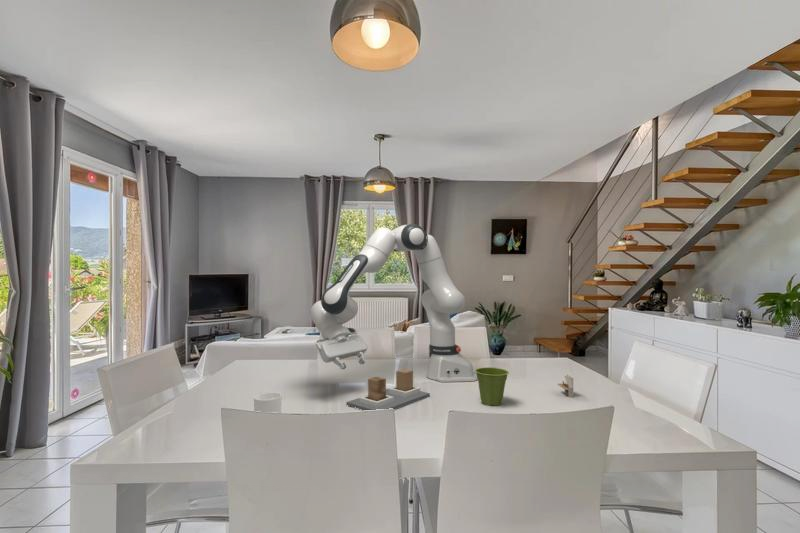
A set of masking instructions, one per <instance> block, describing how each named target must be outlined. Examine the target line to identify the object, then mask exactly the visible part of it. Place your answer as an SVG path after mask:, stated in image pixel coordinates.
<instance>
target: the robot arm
mask: <svg viewBox="0 0 800 533" xmlns="http://www.w3.org/2000/svg"><path fill="white" fill-rule="evenodd" d="M410 251H411V252H412V253H413V254H414V256H415V260H416V262H417V266H418V268H419V273H420V275H421V279H422V281H423V282H424V283H425V284H426V285H427V286H428V289H427V290H425V291H424V292H423V293H422V295H421V299H420V301H421V302H420V303H421V306H422V307H423V308H424V310H425V312H426V316H427V317H426V318H427V320H428V324H429V343H430V344H429V345H428V356H429V361H428V362H429V363H428V364H429V365H428V370H427V373H426V377H427V378H428V379H430V380H434V381H438V382H441V383H449V382H450V383H451V382H453V383H454V382H476V381H478V379H477V374H476V372H475V371H474V368H473V365H472V362H471V361H470V360H469V359H468V358H466V357H465V356H464V355H462V354H461V352H462V348H461V347H460V346H459V345H457V344H456V327H455V324H454V323H453V322H452V320H451V317H450V315H455V314H459V313H460V312H461V313H462V311H463V310H464V308H465V306H466V298H465V296H464V294H463V293H462V292H461V291H459V290H458V288H457V287H456V286H455V284H454V282H453V281H452V279H451V277H450V275H449V273H448V272H447V267H446V266H445V262H444V259H443V258H444V257H443V255H442V253H441V249H440V247H439V245H438V242H437V241H436V239H435V237H434V236H433V235H431V234H427V233H426V231H425V230H424V228H423V227H422V226H420V225H419V224H414V223H410V224H409V223H408V224H402V225H400V226H398V227H397V226H396V227H395V228H392V229H390V228H387V227H384V226H383V227H378V228H377V229H376V230H374V232H372V234H371V235H370V237H369V238H368V240H367V241H366V242H365V244H364V245H363V247H362V249H361V250H360V251H359V253H357V255H355V256H354V257H353V258H352V259H351V260H350V261H349V263H347V265H346V266H345V268H344V270H343V271H342V272H341V274H340V275H339V276H338V278H337V279H336V280H335V281H334V283H333V284H331V285H330V286H329V287H328V288H326V290H325V291H324V292H323V294H322V296H321V299H320V300H318V301H316V302H315V303H314V304H312V306H311V308H310V317H311V319H312V320H311V321H312V322H313V325H314V326H315V327H316V329H317V330H318V331H319V332H320V335H321V337H322V338H321V339H317V340H316V341H315V346H316V348H317V349H318V353H319V356H320V358H321V360H322V361H323V362H325V363H327V364H328V363H332V362H333V364H335V365H336V366H337V367H339V369H340V371H341V370H345V369H346V368H347V365H346V363H345V362H343V361H341V360H343V359H347V358H348V359H349V358H352V357H353V358H354V357H357V358H359V360H358V362H357V363H358V364H359V365H364V364H365V363H366V360H365V358H364V354H365V353H366V351H367V350H368V344H366V342H365V340H364V339H363V337H362V336H361V335H360V334H358V331H357V329H356V328H355V327H354V328H353V327H348V326H344V324H345V323H347V322H349V321H351V320H352V319H355V317H356V316H357V314H358V311H359V306H358V303H357V301H355V300H354V299H353V298H352V297H351V296H350V295H349V293H350V290H351V289H352V287H353V286H354V285H355V284H356V282H357V280H358V279H359V278H360V277H361V276H362V275H363V274H364V273H368V274H369V273H370V274H373V273H376V272H379V271H381V270H382V269H383V267H384V266H385V264H386V263H387V261H388V259H389V257H390V256H391V254H392V252H398V253H399V252H400V253H401V252H410Z"/></svg>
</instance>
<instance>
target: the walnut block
mask: <svg viewBox="0 0 800 533" xmlns="http://www.w3.org/2000/svg"><path fill="white" fill-rule="evenodd" d="M386 389H387V378H385V377H381V376H375V377H370V378H368V379H367V395H368V399H370V400H374V401H380V400H383V399H386Z"/></svg>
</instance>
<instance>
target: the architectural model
mask: <svg viewBox="0 0 800 533" xmlns="http://www.w3.org/2000/svg"><path fill="white" fill-rule="evenodd" d="M564 379H565V381H563V383H556V385H557V386H559V387H560V388H561V389H563V390H564V393H565V395H566V397H568V398H569V399H570V398H574V394H575V393H574V377H573V376H570V375H569V374H566V375H564Z"/></svg>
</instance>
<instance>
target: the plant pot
mask: <svg viewBox="0 0 800 533" xmlns="http://www.w3.org/2000/svg"><path fill="white" fill-rule="evenodd" d="M474 372H475V373H476V374H477V379H478V380H477V381H478V382H477V383H478V390H479V395H480V397H479V398H480V401H481V403H482V404H483V405H486V406H500V405H502V404H503V399H504V393H505V387H506V383H507V382H506V381H507V378H508V375H509V373H510V371H508V370H507V369H505V368H500V367H488V366H487V367H477V368H476V369H475V368H474Z"/></svg>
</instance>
